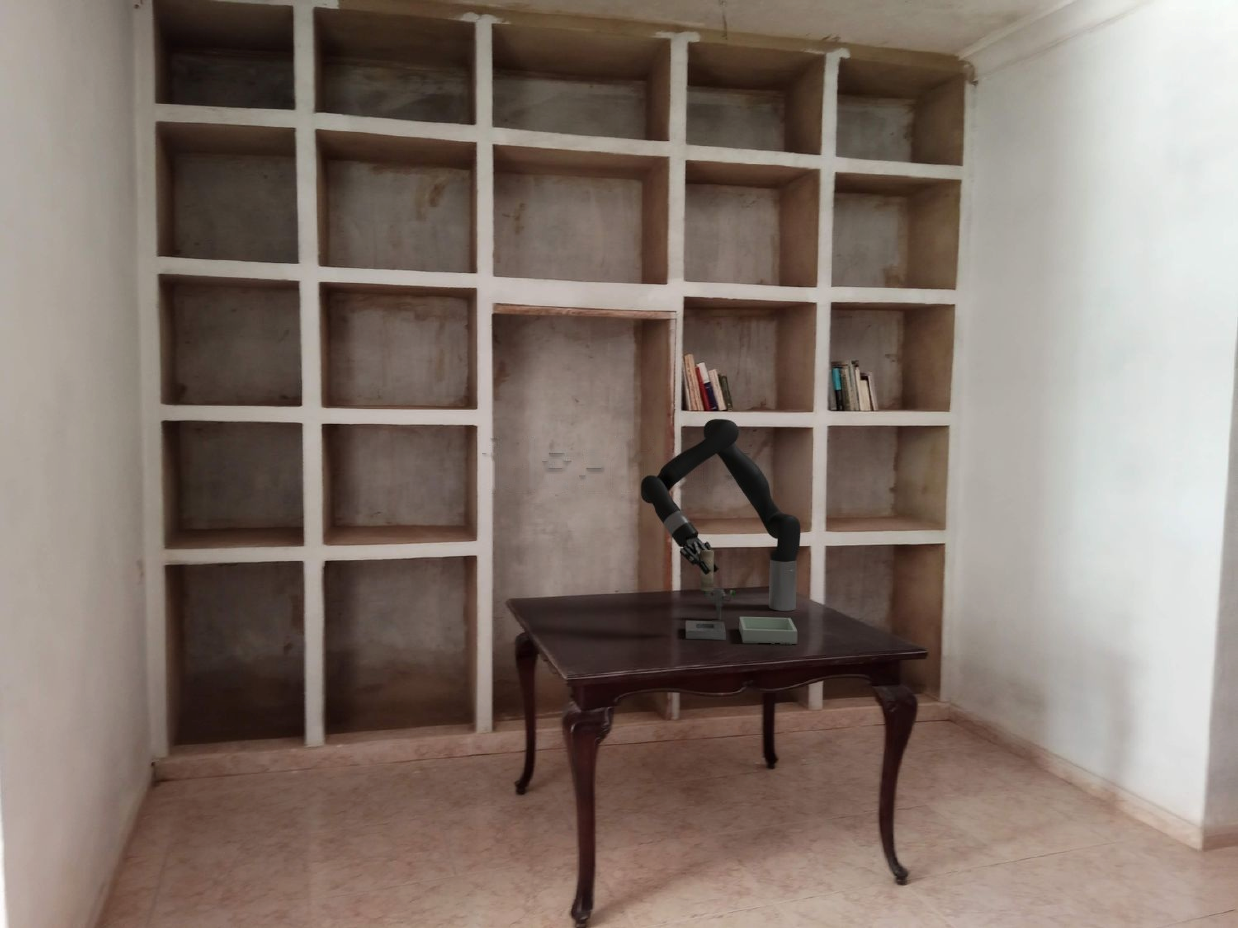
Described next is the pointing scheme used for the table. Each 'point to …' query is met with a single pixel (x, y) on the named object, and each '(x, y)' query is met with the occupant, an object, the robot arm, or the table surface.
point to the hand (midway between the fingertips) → (712, 571)
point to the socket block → (705, 630)
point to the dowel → (707, 580)
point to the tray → (767, 630)
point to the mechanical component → (718, 599)
